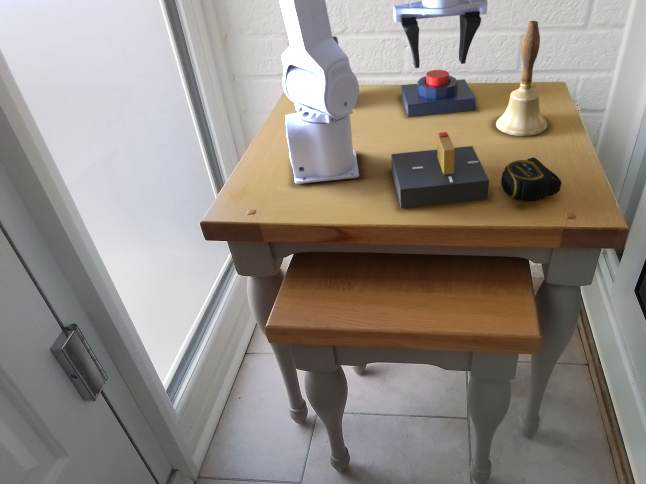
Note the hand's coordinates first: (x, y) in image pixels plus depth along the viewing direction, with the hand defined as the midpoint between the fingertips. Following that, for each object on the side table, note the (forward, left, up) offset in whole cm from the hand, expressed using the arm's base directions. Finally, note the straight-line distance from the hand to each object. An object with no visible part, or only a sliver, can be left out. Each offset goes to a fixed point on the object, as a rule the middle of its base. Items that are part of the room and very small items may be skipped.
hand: (439, 63), depth 89 cm
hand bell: (+12, -8, -9) cm, 17 cm away
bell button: (0, +4, -5) cm, 6 cm away
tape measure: (+7, -28, -9) cm, 30 cm away
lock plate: (-5, -24, -8) cm, 26 cm away
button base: (0, +4, -8) cm, 9 cm away
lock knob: (-4, -24, -5) cm, 25 cm away
